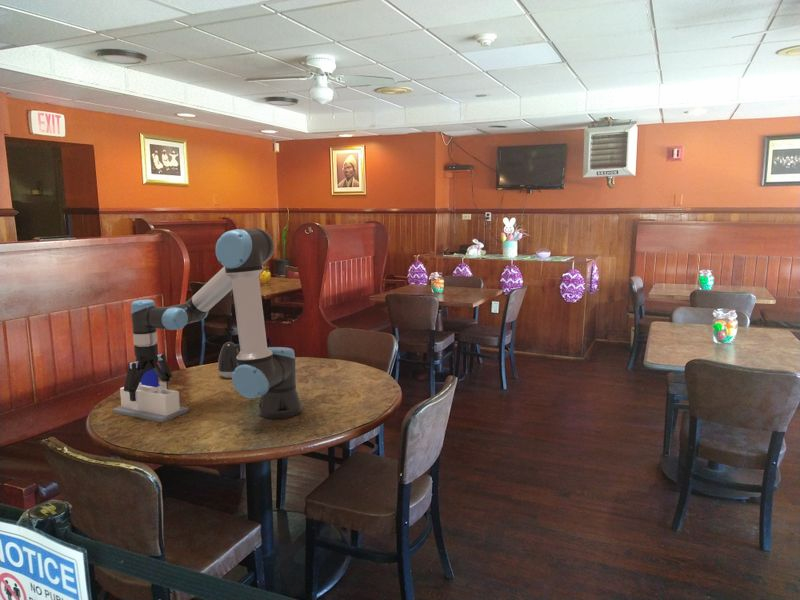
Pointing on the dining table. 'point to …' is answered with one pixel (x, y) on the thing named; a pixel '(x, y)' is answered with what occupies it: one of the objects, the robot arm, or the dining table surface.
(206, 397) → the dining table surface
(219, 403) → the dining table surface
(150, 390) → the white slotted block
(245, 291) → the robot arm
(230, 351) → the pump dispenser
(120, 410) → the grey piece
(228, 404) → the dining table surface
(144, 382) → the mug
